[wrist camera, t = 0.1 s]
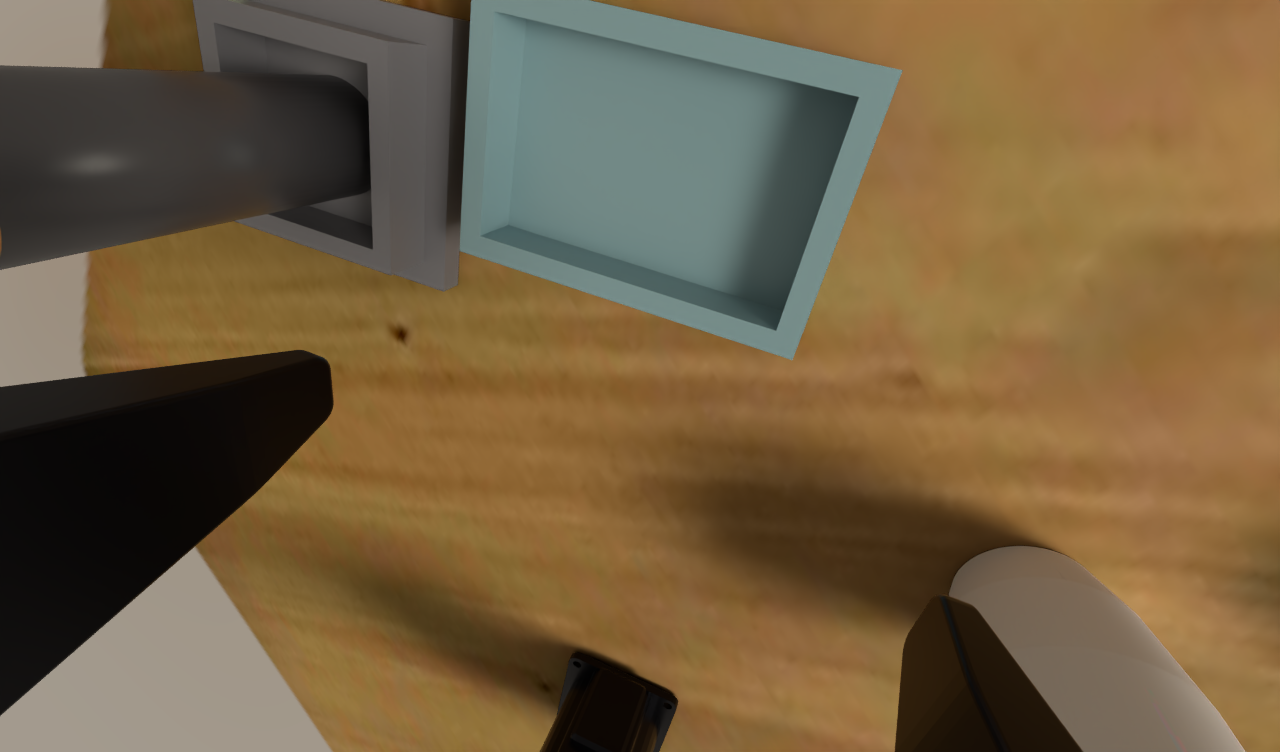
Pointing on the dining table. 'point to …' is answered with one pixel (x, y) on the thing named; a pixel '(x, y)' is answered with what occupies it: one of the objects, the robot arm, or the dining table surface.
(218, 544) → the dining table surface
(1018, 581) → the cup
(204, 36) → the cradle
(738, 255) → the trough
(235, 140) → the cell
